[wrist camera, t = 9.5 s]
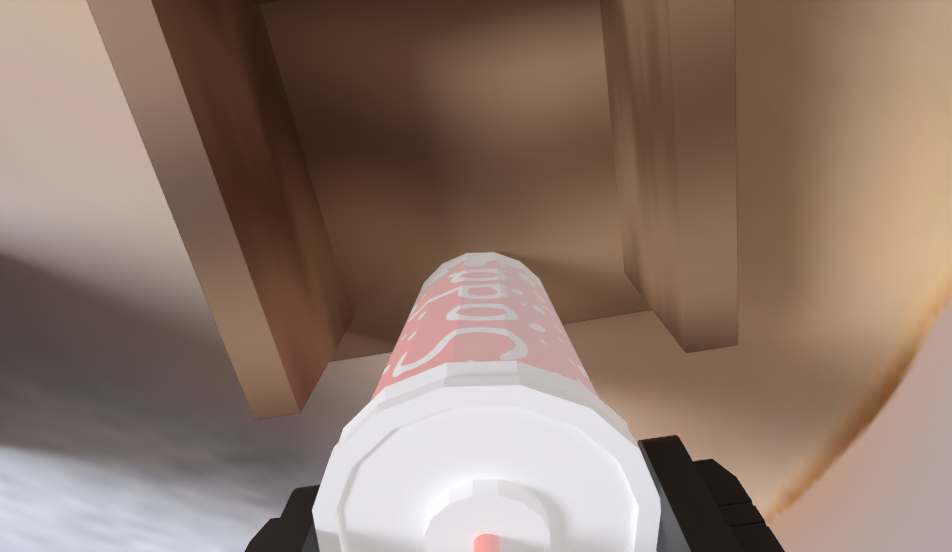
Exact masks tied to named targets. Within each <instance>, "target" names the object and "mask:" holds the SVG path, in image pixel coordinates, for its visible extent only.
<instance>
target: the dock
mask: <svg viewBox="0 0 952 552" xmlns="http://www.w3.org/2000/svg"><path fill="white" fill-rule="evenodd" d="M86 1H87V3H88V6H89V8H90V11H91V13H92V16H93V18H94V21H95V23H96V26H97V28H98V31H99V33H100V36H101V38H102V41H103V43H104V46H105V48H106V51H107V53H108V56H109V58H110V61H111V63H112V66H113V68H114V71H115V73H116V76H117V78H118V81H119V83H120V86H121V88H122V91H123V93H124V96H125V98H126V101H127V103H128V106H129V108H130V111H131V113H132V116H133V118H134V121H135V123H136V126H137V128H138V131H139V133H140V136H141V138H142V141H143V143H144V146H145V148H146V151H147V153H148V156H149V158H150V161H151V163H152V166H153V168H154V171H155V173H156V176H157V178H158V181H159V183H160V186H161V188H162V191H163V193H164V196H165V198H166V201H167V203H168V206H169V208H170V210H171V213H172V215H173V218H174V220H175V223H176V225H177V228H178V230H179V233H180V235H181V238H182V240H183V243H184V245H185V248H186V250H187V253H188V255H189V258H190V260H191V263H192V265H193V268H194V270H195V273H196V275H197V278H198V280H199V283H200V285H201V288H202V290H203V293H204V295H205V298H206V300H207V303H208V305H209V308H210V310H211V313H212V315H213V318H214V320H215V323H216V325H217V328H218V330H219V333H220V335H221V338H222V340H223V343H224V345H225V348H226V350H227V353H228V355H229V358H230V360H231V363H232V365H233V368H234V370H235V373H236V375H237V378H238V380H239V383H240V385H241V388H242V390H243V393H244V395H245V398H246V400H247V403H248V405H249V408H250V410H251V413H252V415H253V418H254V420H257V419H264V418H270V417H277V416H283V415H290V414H296V413H300V412H301V410H302V409H303V407H304V405H305V403H306V401H307V400H308V398H309V396H310V394H311V393H312V391H313V389H314V387H315V385H316V384H317V382H318V380H319V378H320V377H321V375H322V373H323V371H324V370H325V368H326V366H327V364H328V362H331V361H338V360H344V359H350V358H356V357H362V356H368V355H375V354H381V353H387V352H393V350H394V348H395V346H396V344H397V341H398V339H399V337H400V335H401V333H402V330H403V328H404V326H405V324H406V322H407V319H408V317H409V315H410V313H411V311H412V308H413V306H414V304H415V302H416V300H417V297H418V295H419V293H420V291H421V289H422V286H423V284H424V282H425V281H426V280H427V279H428V278H429V277H430V276H431V275H432V274H433V273H434V272H435V271H436V270H437V269H438V268H439V267H440V266H441V265H442V264H443V263H445V262H448V261H450V260H452V259H455V258H457V257H459V256H462V255H464V254H466V253H486V252H495V253H498V254H501V255H504V256H507V257H509V258H512V259H515V260H518V261H520V262H521V263H522V264H524V265H525V266H526V267H527V268H528V269H529V270H530V271H531V272H532V273H533V274H535V275H536V276H537V277H538V278H539V279H540V281H541V283H542V285H543V287H544V289H545V291H546V293H547V295H548V297H549V299H550V301H551V303H552V305H553V307H554V309H555V311H556V313H557V315H558V317H559V319H560V321H561V323H562V324H566V323H572V322H579V321H585V320H591V319H597V318H603V317H610V316H616V315H622V314H628V313H634V312H640V311H647V310H653V311H654V312H655V314H656V315H657V316H658V317H659V319H660V320H661V321H662V323H663V324H664V325H665V327H666V328H667V329H668V330H669V332H670V333H671V334H672V336H673V337H674V338H675V339H676V341H677V342H678V343H679V345H680V346H681V347H682V349H683V350H684V351H685V352H686V353H691V352H697V351H703V350H710V349H716V348H723V347H729V346H736V345H738V284H737V185H736V85H735V0H86Z"/></svg>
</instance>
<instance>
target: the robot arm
mask: <svg viewBox="0 0 952 552" xmlns="http://www.w3.org/2000/svg"><path fill="white" fill-rule="evenodd" d="M638 446H639V449H640V451H641V453H642V456H643V458H644V461H645V463H646V465H647V468H648V470H649V473H650V475H651V477H652V480H653V482H654V485H655V487H656V489H657V492H658V494H659V497H660V506H661V515H660V523H659V531H658V539H657V547H656V551H657V552H785V551H784V550H783V548H782V546H781V545H780V543H779V542H778V540H777V539H776V537H775V536H774V534H773V533H772V531H771V530H770V528H769V527H768V526H766V524H765V520H764V519H763V517H762V516H761V514H760V513H759V511H758V510H757V508H756V507H755V506H753V504H752V500H751V499H750V497H749V496H748V494H747V493H746V491H745V490H744V488H743V487H742V485H741V484H740V482H739V481H738V479H737V477H735V476H734V475H733V474H731V473H730V472H729V471H728V470H726V469H725V468H724V467H722V466H721V465H720V464H718V463H717V462H716V461H714V460H713V459H707V460H700V461H692V459H691V458H690V456H689V454H688V452H687V450H686V449H685V447H684V445H683V443H682V442H681V440H680V438H679V437H678V436H677V435H672V436H665V437H658V438H651V439H644V440H639V441H638ZM319 488H320V485H315V486H308V487H301V488H296V489H295V490H294V491H293V492H292V494H291V496H290V498H289V500H288V502H287V504H286V506H285V509H284V511H283V513H282V515H281V517H280V518H273V519H270V520H269V521H268V522H267V523H266V524H265V525H264V527H263V528H262V529H261V530H260V531H259V532H258V533H257V534H256V535H255V537H254V538H253V539H252V540H251V541H250V542H249V544H248V546H247V548H246V550H245V552H320V550H319V545H318V539H317V534H316V529H315V524H314V518H313V513H312V509H313V506H314V503H315V500H316V497H317V494H318V491H319Z"/></svg>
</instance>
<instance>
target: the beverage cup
mask: <svg viewBox="0 0 952 552" xmlns="http://www.w3.org/2000/svg"><path fill="white" fill-rule="evenodd" d="M312 513H313V518H314V524H315V529H316V534H317V539H318V545H319V550H320V552H656V547H657V539H658V531H659V523H660V515H661V506H660V497H659V494H658V492H657V489H656V487H655V485H654V482H653V480H652V477H651V475H650V473H649V470H648V468H647V465H646V463H645V461H644V458H643V456H642V453H641V451H640V449H639V446H638V444H637V442H636V440H635V439H634V438H633V437H632V435H631V433H630V431H629V428H628V426H627V423H626V421H625V420H624V419H622V418H621V417H620V416H619V415H618V414H617V413H615V412H614V411H613V410H612V409H611V408H610V407H609V406H607V405H606V404H605V403H604V402H603V401H602V400H600V399H599V397H598V395H597V393H596V391H595V389H594V387H593V385H592V383H591V381H590V379H589V377H588V375H587V373H586V371H585V369H584V367H583V365H582V363H581V361H580V359H579V357H578V355H577V353H576V351H575V349H574V347H573V345H572V343H571V341H570V339H569V337H568V335H567V333H566V331H565V329H564V327H563V325H562V323H561V321H560V319H559V317H558V315H557V313H556V311H555V309H554V307H553V305H552V303H551V301H550V299H549V297H548V295H547V293H546V291H545V289H544V287H543V285H542V283H541V281H540V279H539V278H538V277H537V276H536V275H535V274H533V273H532V272H531V271H530V270H529V269H528V268H527V267H526V266H525V265H524V264H522V263H521V262H520V261H518V260H515V259H512V258H509V257H507V256H504V255H501V254H498V253H495V252H486V253H466V254H464V255H462V256H459V257H457V258H455V259H452V260H450V261H448V262H445V263H443V264H442V265H441V266H440V267H439V268H438V269H437V270H436V271H435V272H434V273H433V274H432V275H431V276H430V277H429V278H428V279H427V280H426V281H425V282H424V284H423V286H422V289H421V291H420V293H419V295H418V297H417V300H416V302H415V304H414V306H413V308H412V311H411V313H410V315H409V317H408V319H407V322H406V324H405V326H404V328H403V330H402V333H401V335H400V337H399V339H398V341H397V344H396V346H395V348H394V350H393V352H392V355H391V357H390V359H389V361H388V363H387V366H386V368H385V370H384V372H383V374H382V377H381V379H380V381H379V383H378V385H377V388H376V390H375V392H374V394H373V396H372V399H371V401H370V403H369V404H367V405H366V406H365V407H364V408H363V409H362V410H361V411H360V412H359V413H358V414H357V415H356V416H355V417H354V418H353V419H352V420H351V421H350V422H349V423H348V424H347V425H346V426H345V427H344V428H343V431H342V434H341V436H340V439H339V442H338V443H337V444H336V445H335V446H334V448H333V451H332V453H331V456H330V459H329V461H328V464H327V467H326V470H325V473H324V476H323V479H322V482H321V485H320V488H319V491H318V494H317V497H316V500H315V503H314V506H313V509H312Z"/></svg>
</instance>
